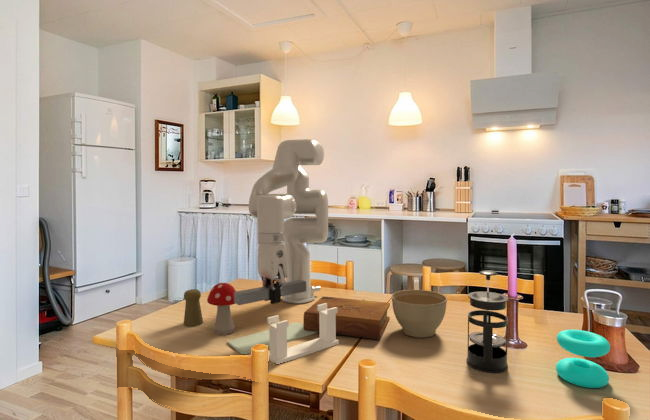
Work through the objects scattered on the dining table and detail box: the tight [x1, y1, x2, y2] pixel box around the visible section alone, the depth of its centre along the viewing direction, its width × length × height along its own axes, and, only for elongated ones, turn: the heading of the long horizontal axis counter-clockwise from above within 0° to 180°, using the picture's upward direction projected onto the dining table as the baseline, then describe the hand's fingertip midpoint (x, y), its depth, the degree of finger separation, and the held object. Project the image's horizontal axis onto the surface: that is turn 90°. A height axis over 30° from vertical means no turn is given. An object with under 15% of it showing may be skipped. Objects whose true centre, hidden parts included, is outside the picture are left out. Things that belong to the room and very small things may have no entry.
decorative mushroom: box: [206, 282, 237, 335], centre depth 118 cm, size 10×9×15 cm
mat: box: [226, 321, 318, 355], centre depth 113 cm, size 24×10×1 cm, turn 128°
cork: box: [183, 288, 204, 328], centre depth 126 cm, size 6×6×11 cm
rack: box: [266, 303, 340, 365], centre depth 104 cm, size 20×5×10 cm, turn 128°
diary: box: [303, 296, 391, 340], centre depth 122 cm, size 23×19×6 cm
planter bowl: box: [390, 289, 448, 338], centre depth 116 cm, size 16×16×11 cm
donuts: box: [555, 328, 611, 389], centre depth 87 cm, size 10×10×10 cm
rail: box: [234, 280, 306, 306], centre depth 112 cm, size 22×3×3 cm, turn 128°
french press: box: [466, 270, 509, 374], centre depth 94 cm, size 12×9×23 cm
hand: (272, 300), depth 112 cm, fingers closed on rail, 3 cm apart
